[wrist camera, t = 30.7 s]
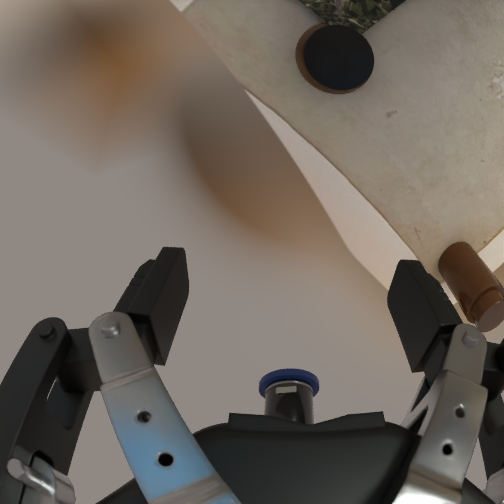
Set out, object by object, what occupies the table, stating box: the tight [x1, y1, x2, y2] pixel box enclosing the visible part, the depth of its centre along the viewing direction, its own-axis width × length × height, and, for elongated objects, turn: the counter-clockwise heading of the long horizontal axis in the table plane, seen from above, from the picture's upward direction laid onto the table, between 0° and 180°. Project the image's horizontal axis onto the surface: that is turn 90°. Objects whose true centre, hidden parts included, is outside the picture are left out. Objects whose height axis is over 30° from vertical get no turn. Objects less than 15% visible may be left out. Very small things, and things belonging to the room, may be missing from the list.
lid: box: [302, 25, 374, 90], centre depth 23 cm, size 7×7×3 cm
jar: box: [438, 242, 504, 332], centre depth 31 cm, size 6×6×12 cm
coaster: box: [296, 23, 368, 94], centre depth 24 cm, size 8×8×1 cm
